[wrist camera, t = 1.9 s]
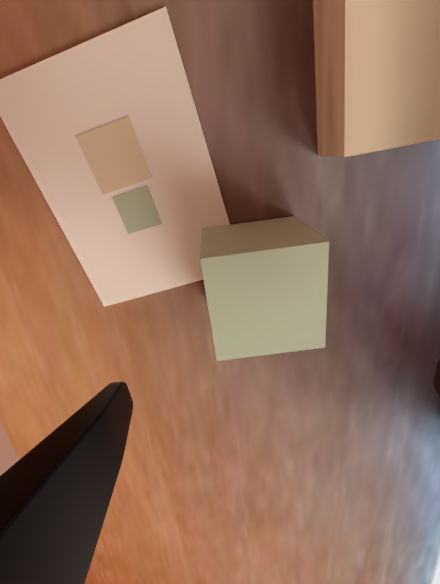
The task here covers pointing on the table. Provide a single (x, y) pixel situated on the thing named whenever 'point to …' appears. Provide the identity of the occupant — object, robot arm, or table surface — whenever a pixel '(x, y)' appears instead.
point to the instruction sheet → (119, 156)
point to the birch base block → (376, 74)
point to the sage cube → (265, 287)
